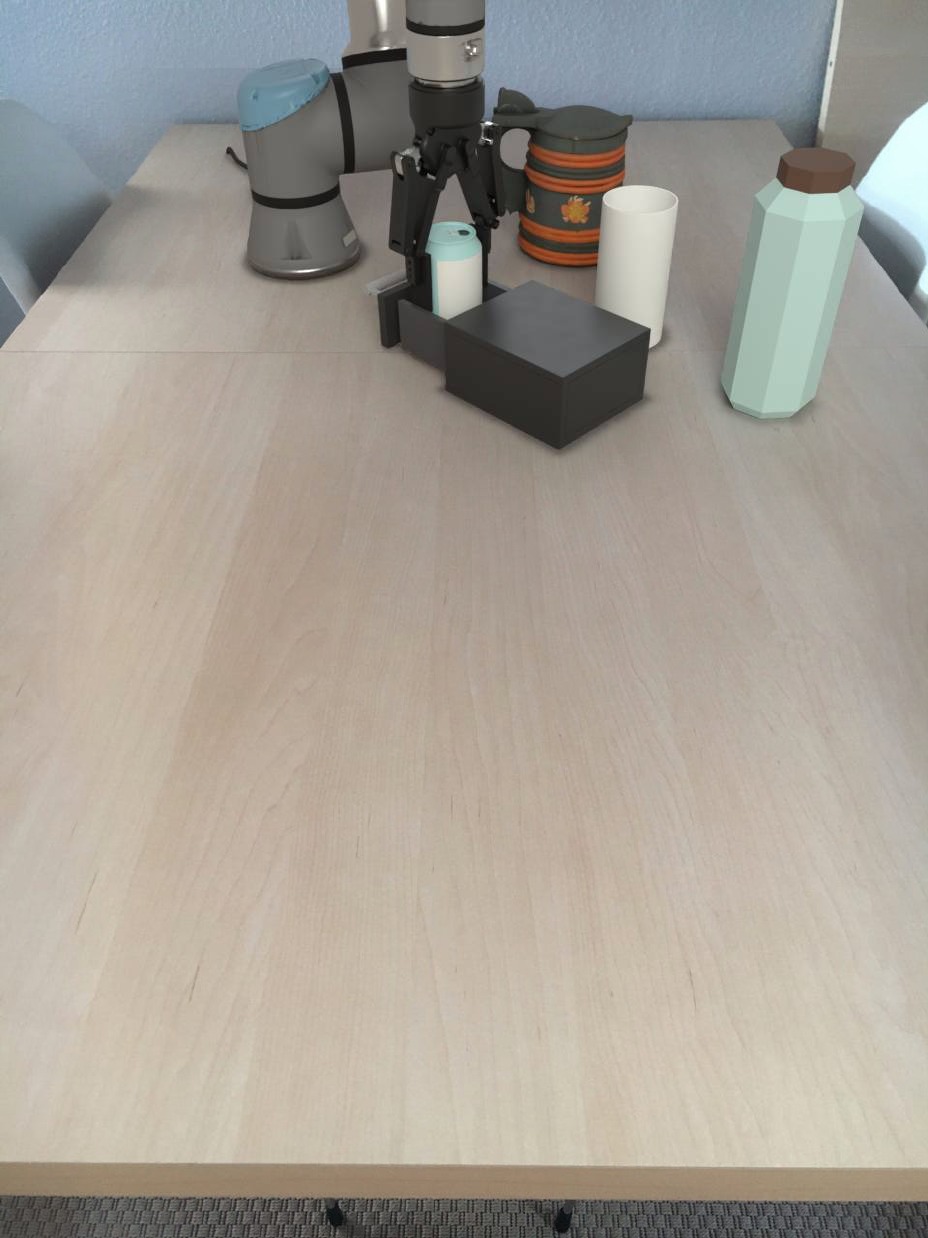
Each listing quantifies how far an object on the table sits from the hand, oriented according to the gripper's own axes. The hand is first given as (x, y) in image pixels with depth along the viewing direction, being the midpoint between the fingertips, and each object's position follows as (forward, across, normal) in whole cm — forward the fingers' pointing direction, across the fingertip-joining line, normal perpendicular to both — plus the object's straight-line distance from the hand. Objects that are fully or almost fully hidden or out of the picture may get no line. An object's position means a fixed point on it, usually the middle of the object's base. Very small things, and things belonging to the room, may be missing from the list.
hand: (450, 295), depth 112 cm
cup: (+7, +17, -13) cm, 22 cm away
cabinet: (+6, 0, -15) cm, 16 cm away
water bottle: (+6, +16, -33) cm, 37 cm away
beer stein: (+7, +30, +10) cm, 33 cm away
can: (+5, 0, 0) cm, 5 cm away
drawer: (+6, 0, +1) cm, 6 cm away
